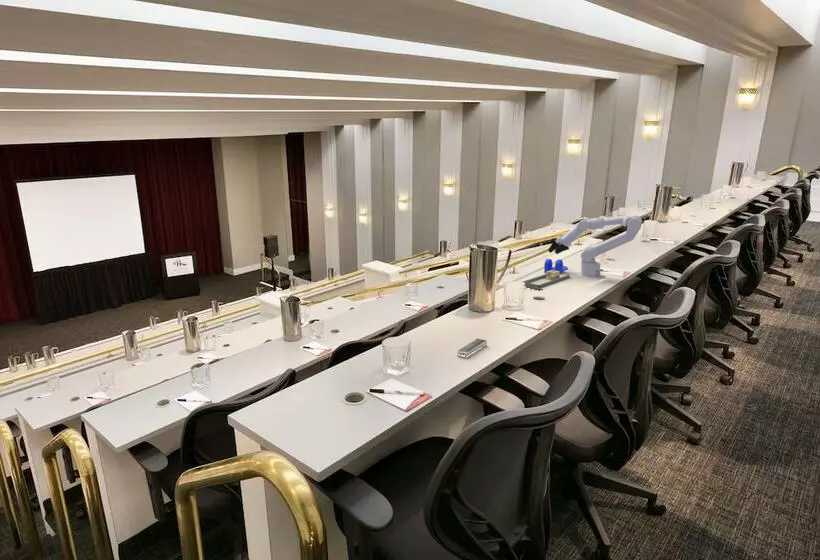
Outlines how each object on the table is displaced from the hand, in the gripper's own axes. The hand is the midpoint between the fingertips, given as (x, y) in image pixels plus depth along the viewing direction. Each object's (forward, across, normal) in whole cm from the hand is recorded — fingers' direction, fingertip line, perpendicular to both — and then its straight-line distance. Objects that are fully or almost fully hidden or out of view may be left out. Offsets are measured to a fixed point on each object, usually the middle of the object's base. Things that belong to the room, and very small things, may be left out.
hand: (552, 252), depth 293 cm
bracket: (+8, -11, +7) cm, 16 cm away
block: (+6, +8, +15) cm, 18 cm away
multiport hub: (+12, +106, +55) cm, 119 cm away
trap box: (+8, +13, +17) cm, 23 cm away
